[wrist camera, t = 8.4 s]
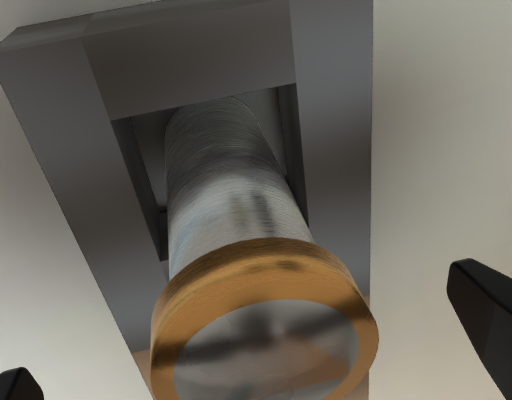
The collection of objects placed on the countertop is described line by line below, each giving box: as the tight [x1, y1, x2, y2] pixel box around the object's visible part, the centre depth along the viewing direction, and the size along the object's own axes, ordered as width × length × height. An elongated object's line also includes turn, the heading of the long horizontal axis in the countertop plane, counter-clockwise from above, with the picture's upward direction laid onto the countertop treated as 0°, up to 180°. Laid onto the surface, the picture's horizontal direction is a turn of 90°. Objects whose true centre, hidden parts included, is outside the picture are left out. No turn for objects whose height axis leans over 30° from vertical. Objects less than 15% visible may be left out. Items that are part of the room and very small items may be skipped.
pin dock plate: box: [0, 0, 373, 400], centre depth 19 cm, size 24×10×3 cm, turn 8°
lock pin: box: [150, 96, 379, 400], centre depth 13 cm, size 4×4×10 cm
